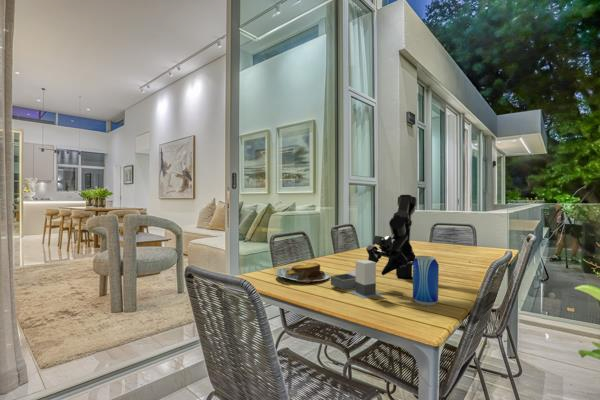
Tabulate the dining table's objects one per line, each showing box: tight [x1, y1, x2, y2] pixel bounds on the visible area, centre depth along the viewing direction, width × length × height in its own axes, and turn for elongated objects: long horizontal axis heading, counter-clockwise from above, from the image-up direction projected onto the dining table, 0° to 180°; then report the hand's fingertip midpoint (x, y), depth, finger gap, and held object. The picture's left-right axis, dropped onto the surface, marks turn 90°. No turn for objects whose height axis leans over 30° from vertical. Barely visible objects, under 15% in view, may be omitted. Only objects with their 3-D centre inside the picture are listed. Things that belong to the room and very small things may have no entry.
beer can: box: [412, 255, 440, 306], centre depth 112 cm, size 8×8×16 cm
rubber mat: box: [347, 289, 385, 299], centre depth 121 cm, size 10×10×1 cm
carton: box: [325, 269, 356, 290], centre depth 131 cm, size 14×8×5 cm, turn 117°
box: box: [354, 259, 377, 296], centre depth 121 cm, size 5×5×12 cm
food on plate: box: [274, 262, 331, 283], centre depth 144 cm, size 25×25×7 cm
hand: (374, 271), depth 123 cm, fingers open, 9 cm apart
